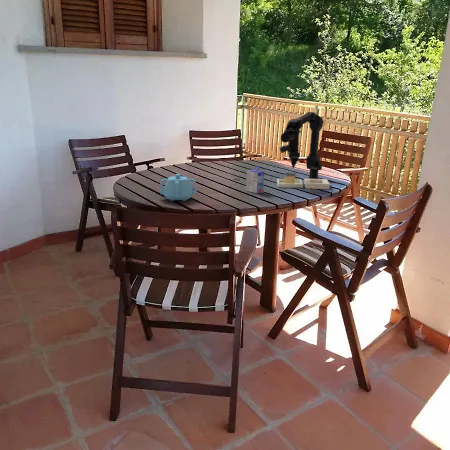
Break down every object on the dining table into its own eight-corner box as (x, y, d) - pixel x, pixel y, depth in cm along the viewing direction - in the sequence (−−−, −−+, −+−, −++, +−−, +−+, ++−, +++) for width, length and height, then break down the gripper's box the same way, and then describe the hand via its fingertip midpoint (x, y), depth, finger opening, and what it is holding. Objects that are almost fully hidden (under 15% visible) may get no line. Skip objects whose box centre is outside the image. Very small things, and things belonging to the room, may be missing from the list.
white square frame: (304, 183, 284) (304, 178, 283) (326, 183, 283) (326, 179, 282) (305, 188, 270) (306, 183, 269) (329, 189, 269) (329, 184, 268)
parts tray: (277, 182, 285) (277, 178, 284) (300, 183, 284) (301, 179, 283) (277, 187, 272) (277, 183, 271) (302, 188, 271) (302, 184, 270)
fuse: (284, 183, 280) (285, 172, 278) (294, 184, 279) (294, 172, 277) (284, 185, 276) (285, 173, 274) (294, 185, 275) (295, 174, 273)
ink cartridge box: (264, 192, 259) (264, 167, 255) (256, 193, 256) (257, 168, 252) (252, 189, 267) (253, 165, 262) (245, 190, 264) (246, 166, 259)
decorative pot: (182, 194, 255) (181, 170, 251) (199, 199, 243) (199, 174, 239) (157, 198, 245) (156, 173, 241) (174, 204, 233) (173, 178, 229)
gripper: (280, 138, 280) (279, 163, 285) (281, 142, 263) (280, 169, 268) (298, 138, 280) (296, 163, 284) (300, 143, 262) (298, 169, 267)
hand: (292, 166), depth 276 cm, fingers open, 9 cm apart
